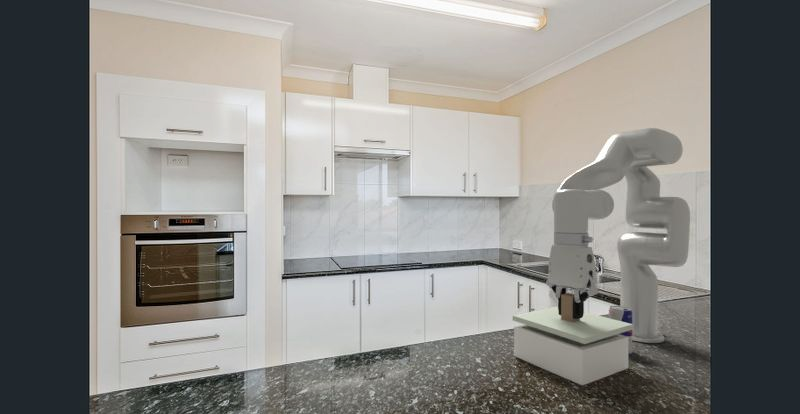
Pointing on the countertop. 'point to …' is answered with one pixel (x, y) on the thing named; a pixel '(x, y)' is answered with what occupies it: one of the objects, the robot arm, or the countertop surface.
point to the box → (571, 354)
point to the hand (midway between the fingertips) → (570, 315)
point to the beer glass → (553, 299)
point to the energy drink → (624, 316)
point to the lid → (573, 322)
